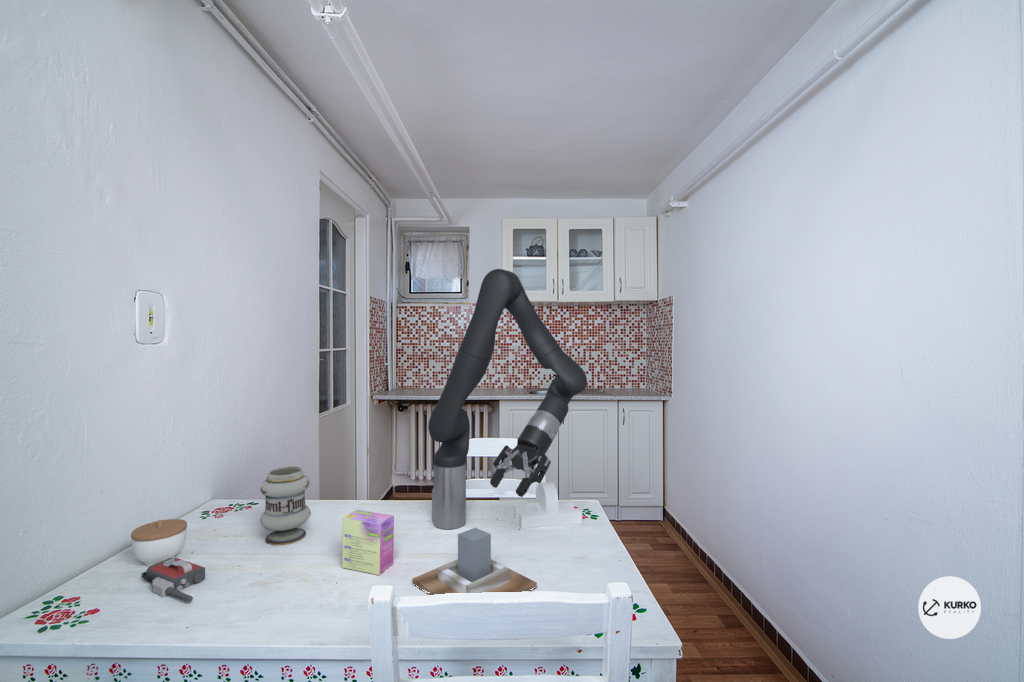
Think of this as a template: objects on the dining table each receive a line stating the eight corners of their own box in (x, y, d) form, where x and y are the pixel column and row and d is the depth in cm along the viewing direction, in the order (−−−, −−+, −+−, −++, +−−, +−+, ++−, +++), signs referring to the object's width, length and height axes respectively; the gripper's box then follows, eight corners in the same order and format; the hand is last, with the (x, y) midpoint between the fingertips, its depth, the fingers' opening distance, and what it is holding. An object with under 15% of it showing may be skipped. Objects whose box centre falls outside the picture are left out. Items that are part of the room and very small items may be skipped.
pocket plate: (412, 584, 101) (412, 566, 101) (475, 556, 114) (475, 541, 114) (471, 624, 87) (471, 604, 87) (536, 588, 99) (536, 570, 99)
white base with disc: (570, 512, 144) (570, 476, 144) (582, 524, 134) (582, 486, 134) (513, 516, 140) (513, 480, 140) (521, 530, 130) (521, 490, 130)
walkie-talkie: (130, 585, 101) (185, 609, 92) (129, 565, 101) (185, 586, 92) (174, 567, 109) (229, 587, 100) (174, 548, 109) (229, 567, 100)
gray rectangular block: (457, 580, 100) (457, 534, 100) (475, 572, 104) (475, 527, 104) (473, 589, 97) (473, 541, 97) (490, 580, 100) (490, 534, 100)
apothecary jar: (249, 542, 121) (249, 473, 121) (287, 525, 132) (287, 462, 132) (283, 550, 117) (284, 479, 117) (320, 532, 128) (320, 466, 128)
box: (394, 564, 110) (394, 514, 110) (379, 576, 104) (379, 523, 104) (357, 557, 113) (357, 509, 113) (341, 568, 108) (341, 517, 108)
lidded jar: (182, 545, 119) (182, 509, 119) (191, 559, 112) (191, 520, 112) (128, 559, 112) (128, 520, 112) (133, 575, 104) (133, 533, 104)
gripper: (511, 420, 118) (476, 474, 110) (554, 428, 108) (519, 488, 100) (525, 437, 122) (492, 491, 114) (568, 447, 111) (536, 507, 104)
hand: (505, 490), depth 107 cm, fingers open, 8 cm apart
